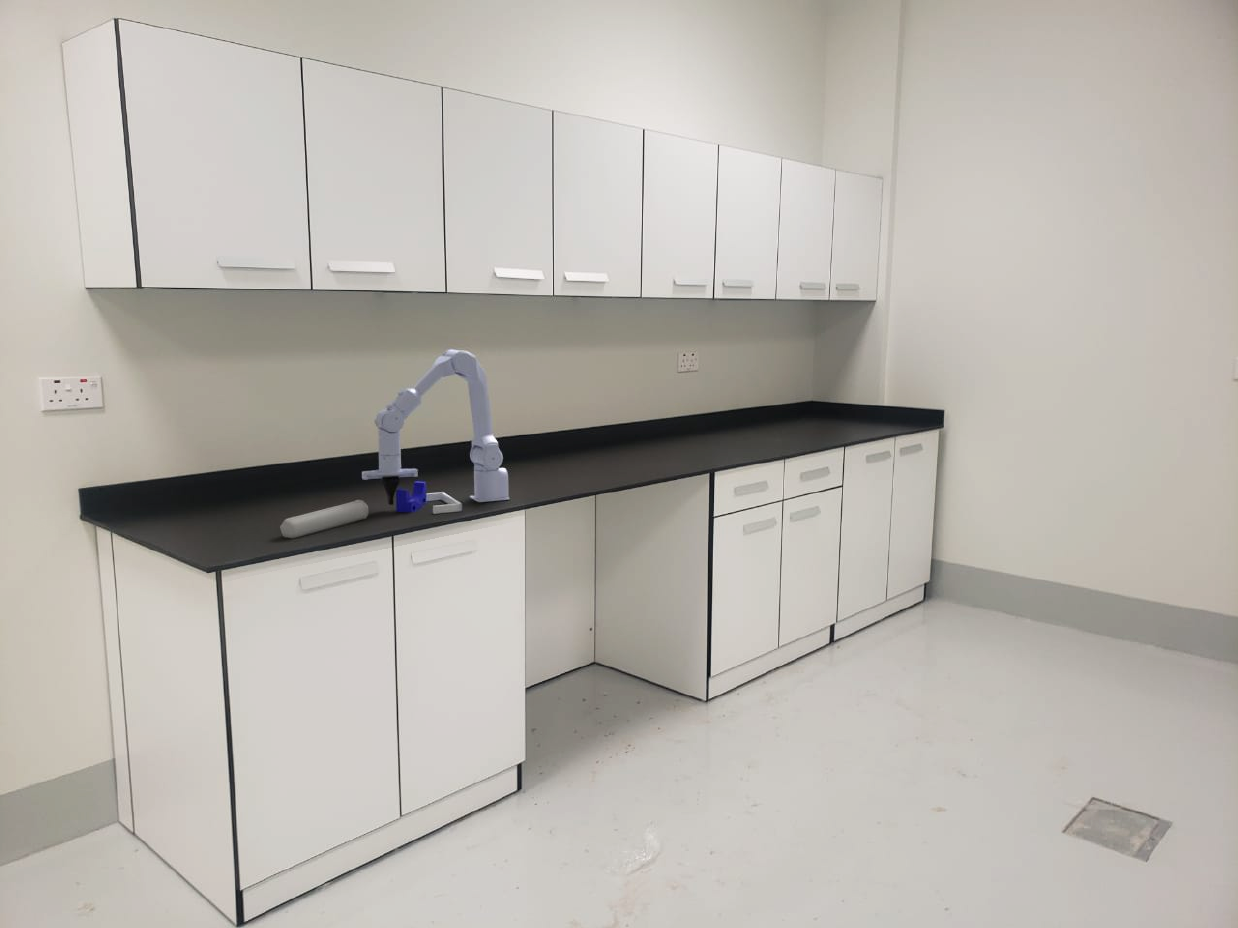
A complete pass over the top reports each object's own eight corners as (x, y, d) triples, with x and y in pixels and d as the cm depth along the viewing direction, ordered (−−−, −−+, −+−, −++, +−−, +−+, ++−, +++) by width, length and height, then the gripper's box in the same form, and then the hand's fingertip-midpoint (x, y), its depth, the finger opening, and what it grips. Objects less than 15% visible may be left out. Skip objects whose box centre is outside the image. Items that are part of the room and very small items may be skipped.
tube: (293, 525, 206) (370, 504, 227) (277, 515, 208) (355, 496, 229) (289, 545, 207) (366, 523, 229) (274, 535, 209) (351, 514, 231)
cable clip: (411, 512, 236) (411, 491, 235) (396, 511, 237) (396, 489, 236) (431, 503, 248) (431, 482, 247) (416, 501, 249) (416, 481, 248)
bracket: (443, 498, 254) (443, 492, 254) (462, 510, 238) (461, 503, 238) (416, 501, 250) (416, 494, 250) (433, 513, 235) (433, 506, 235)
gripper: (412, 451, 243) (413, 499, 245) (359, 453, 236) (360, 503, 238) (419, 454, 237) (420, 504, 239) (364, 457, 230) (365, 508, 232)
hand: (390, 504), depth 238 cm, fingers closed
